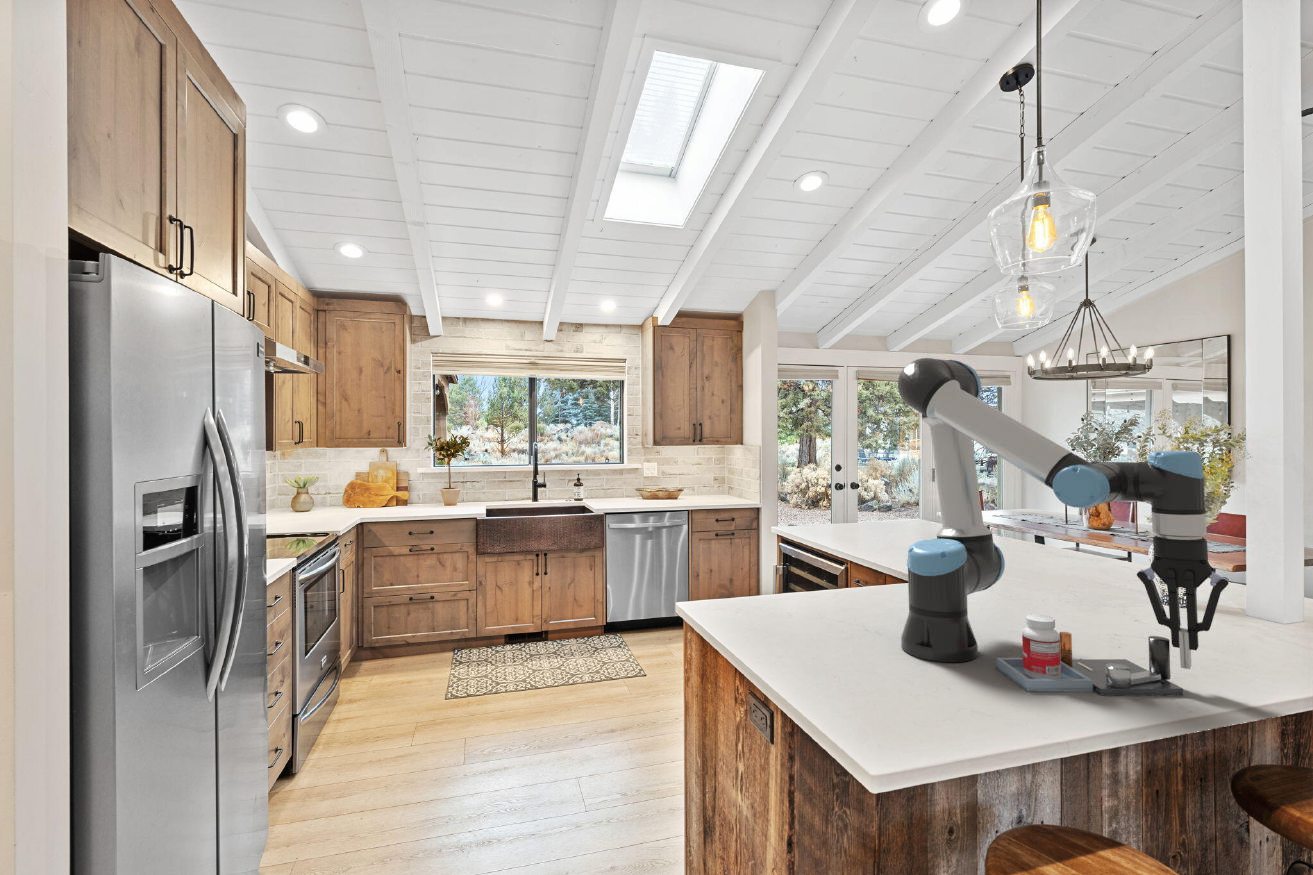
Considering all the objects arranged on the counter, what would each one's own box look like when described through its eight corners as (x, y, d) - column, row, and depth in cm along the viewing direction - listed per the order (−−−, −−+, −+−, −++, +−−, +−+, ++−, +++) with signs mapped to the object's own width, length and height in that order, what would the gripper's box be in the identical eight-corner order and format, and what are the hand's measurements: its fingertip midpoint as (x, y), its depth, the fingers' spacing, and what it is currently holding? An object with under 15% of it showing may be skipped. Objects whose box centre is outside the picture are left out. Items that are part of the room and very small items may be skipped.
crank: (1120, 688, 109) (1119, 649, 109) (1100, 681, 112) (1099, 642, 112) (1176, 679, 112) (1175, 640, 112) (1155, 672, 116) (1154, 634, 116)
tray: (1027, 691, 112) (1027, 680, 112) (996, 667, 124) (995, 657, 124) (1093, 691, 111) (1092, 680, 111) (1055, 667, 123) (1055, 657, 123)
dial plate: (1100, 695, 110) (1099, 654, 110) (1053, 665, 124) (1052, 629, 124) (1183, 695, 109) (1182, 654, 109) (1125, 665, 123) (1124, 629, 123)
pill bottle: (1027, 667, 122) (1026, 611, 122) (1064, 675, 118) (1062, 617, 118) (1019, 676, 117) (1018, 618, 117) (1057, 685, 113) (1055, 624, 113)
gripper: (1228, 535, 110) (1235, 668, 110) (1138, 530, 119) (1144, 653, 119) (1225, 541, 105) (1233, 681, 104) (1131, 536, 114) (1138, 664, 114)
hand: (1186, 666), depth 112 cm, fingers closed
